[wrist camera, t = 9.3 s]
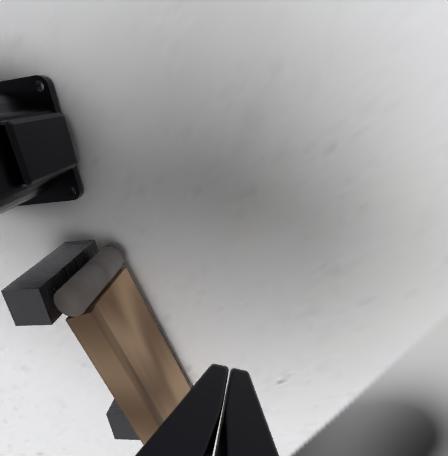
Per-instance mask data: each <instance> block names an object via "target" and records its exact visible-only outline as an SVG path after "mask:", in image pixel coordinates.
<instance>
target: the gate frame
mask: <svg viewBox="0 0 448 456" xmlns="http://www.w3.org/2000/svg"><path fill="white" fill-rule="evenodd" d="M97 253H98V250H97V246H96V243H95V240H92V241H79V242H66V243H64V244H62V245H61V246H60V247H58V248H57V249H56V250H54V251H53V252H52V253H50V254H49V255H48V256H46V257H45V258H44V259H42V260H41V261H40V262H39V263H37V264H36V265H35V266H33V267H32V268H31V269H29V270H28V271H27V272H25V273H24V274H23V275H21V276H20V277H19V278H17V279H16V280H15V281H13V282H12V283H11V284H9V285H8V286H7V287H6V288H4V289H3V290H2V291H1V292H2V294H3V297H4V299H5V301H6V304H7V306H8V308H9V311H10V313H11V316H12V318H13V320H14V323H15V325H16V326H25V325H52V324H53V323H54V322H55V321H56V320H57V319H58V318H59V317H60V316H61V314H62V312H60V311H59V310H58V308H57V307H56V305H55V303H54V295H55V293H56V292H57V291H58V290H59V289H60V288H61V287H62V286H63V285H64V284H65V283H66V282H67V281H68V280H69V279H70V278H71V277H72V276H73V275H75V274H76V273H77V272H78V271H79V270H80V269H81V268H82V267H83V266H84V265H85V264H86V263H87V262H88V261H89V260H90V259H91V258H92V257H94V256H95V255H96V254H97ZM106 415H107V418H108V420H109V423H110V426H111V429H112V432H113V435H114V438H115V439H129V440H140V438H139V437H138V435H137V434H136V432H135V430H134V429H133V427H132V426H131V424H130V422H129V421H128V419H127V418H126V416H125V414H124V413H123V411H122V410H121V408H120V406H119V405H118V403H117V402H116V400H115V399H114V400H113V402H112V404H111V406H110V408H109V410H108V412H107V414H106Z"/></svg>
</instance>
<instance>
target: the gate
mask: <svg viewBox="0 0 448 456" xmlns="http://www.w3.org/2000/svg"><path fill="white" fill-rule="evenodd" d="M123 265H124V256H123V254H122V253H121V252H120V251H119V250H118V249H117V248H115V247H111V246H106V247H104V248H102V249H101V250H100V251H99V252H98V253H97V254H96V255H95V256H94V257H92V258H91V259H90V260H89V261H88V262H87V263H86V264H85V265H84V266H83V267H82V268H81V269H80V270H79V271H78V272H77V273H76V274H75V275H73V276H72V277H71V278H70V279H69V280H68V281H67V282H66V283H65V284H64V285H63V286H62V287H61V288H60V289H59V290H58V291H57V292H56V293H55V295H54V303H55V305H56V307H57V308H58V310H59V311H60V312H62V313H63V314H65V315H67V316H68V317H67V319H66V321H67V323H68V325H69V326H70V328H71V329H72V331H73V333H74V334H75V336H76V337H77V339H78V341H79V342H80V344H81V345H82V347H83V349H84V350H85V352H86V354H87V355H88V357H89V358H90V360H91V362H92V363H93V365H94V366H95V368H96V370H97V371H98V373H99V374H100V376H101V378H102V379H103V381H104V382H105V384H106V386H107V387H108V389H109V390H110V392H111V394H112V395H113V397H114V398H115V400H116V402H117V403H118V405H119V406H120V408H121V410H122V411H123V413H124V414H125V416H126V418H127V419H128V421H129V422H130V424H131V426H132V427H133V429H134V430H135V432H136V434H137V435H138V437H139V438H140V440H141V442H142V443H143V445H145V443H146V442H147V441H148V440H149V439H150V437H151V436H152V435H153V434H154V433H155V431H156V430H157V429H158V428H159V427H160V425H161V424H162V423H163V422H164V421H165V419H166V418H167V417H168V416H169V415H170V413H171V412H172V411H173V410H174V409H175V407H176V406H177V405H178V404H179V403H180V402H181V400H182V399H183V398H184V397H185V396H186V394H187V393H188V392H189V391H190V390H191V388H190V387H189V385H188V383H187V381H186V379H185V377H184V375H183V373H182V372H181V370H180V368H179V366H178V364H177V362H176V360H175V358H174V357H173V355H172V353H171V351H170V349H169V347H168V345H167V343H166V341H165V340H164V338H163V336H162V334H161V332H160V330H159V328H158V326H157V325H156V323H155V321H154V319H153V317H152V315H151V313H150V311H149V309H148V308H147V306H146V304H145V302H144V300H143V298H142V296H141V294H140V293H139V291H138V289H137V287H136V285H135V283H134V281H133V279H132V277H131V276H130V274H129V272H128V270H127V268H122V267H123ZM121 268H122V269H121Z"/></svg>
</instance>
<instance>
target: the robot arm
mask: <svg viewBox="0 0 448 456" xmlns="http://www.w3.org/2000/svg"><path fill="white" fill-rule="evenodd" d="M40 81H41V82H42V83H43V85H44V89H43V91H42V90H41V89H40V87H39V83H40ZM76 163H77V160H76V157H75V153H74V150H73V146H72V143H71V140H70V136H69V133H68V129H67V126H66V122H65V119H64V117H63V116H62V115H61V111H60V108H59V105H58V101H57V98H56V94H55V91H54V87H53V84H52V82H51V80H50V79H49V78H48V77H46V76H42V75H35V76H29V77H24V78H18V79H12V80H7V81H1V82H0V214H1V213H3V212H5V211H7V210H9V209H11V208H13V207H15V206H20V205H30V204H40V203H50V202H60V201H70V200H76V199H78V198H80V197H81V196H82V195H83V187H82V183H81V180H80V176H79V173H78V170H77V166H76ZM71 187H72V188H74V189H75V191H76V194H74V193H73V192H72V191H71ZM228 371H229V369H228V367H226V366H222V365H218V364H212V365H211V366H210V367H209V368H208V369H207V370H206V372H205V373H204V374H203V375H202V376H201V378H200V379H199V380H198V381H197V382H196V384H195V385H194V386H193V387H192V388H191V390H190V391H189V392H188V393H187V394H186V396H185V397H184V398H183V399H182V400H181V402H180V403H179V404H178V405H177V406H176V407H175V409H174V410H173V411H172V412H171V413H170V415H169V416H168V417H167V418H166V419H165V421H164V422H163V423H162V424H161V425H160V427H159V428H158V429H157V430H156V431H155V433H154V434H153V435H152V436H151V437H150V439H149V440H148V441H147V442H146V443H145V445H144V446H143V447H142V448H141V449H140V451H139V452H138V453H137V454H136V455H135V456H212V454H213V450H214V445H215V440H216V435H217V431H218V426H219V421H220V416H221V411H222V407H223V411H222V417H221V422H220V428H219V433H218V439H217V444H216V450H215V456H279V454H278V452H277V449H276V446H275V443H274V441H273V438H272V435H271V432H270V430H269V427H268V424H267V422H266V419H265V416H264V413H263V411H262V408H261V405H260V402H259V400H258V397H257V394H256V391H255V389H254V386H253V383H252V380H251V378H250V375H249V373H248V372H247V371H245V370H240V369H236V368H233V369H231V371H230V376H229V381H228V385H227V390H226V395H225V389H226V383H227V377H228ZM224 395H225V400H224ZM223 401H224V406H223Z"/></svg>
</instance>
